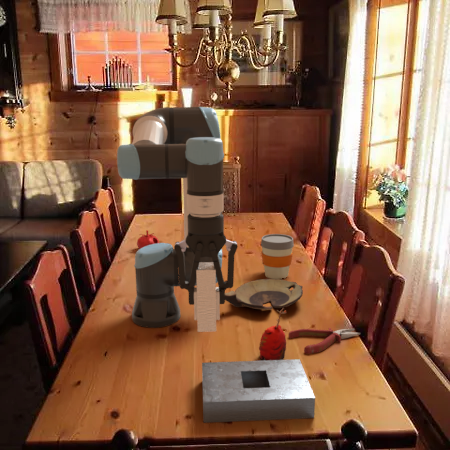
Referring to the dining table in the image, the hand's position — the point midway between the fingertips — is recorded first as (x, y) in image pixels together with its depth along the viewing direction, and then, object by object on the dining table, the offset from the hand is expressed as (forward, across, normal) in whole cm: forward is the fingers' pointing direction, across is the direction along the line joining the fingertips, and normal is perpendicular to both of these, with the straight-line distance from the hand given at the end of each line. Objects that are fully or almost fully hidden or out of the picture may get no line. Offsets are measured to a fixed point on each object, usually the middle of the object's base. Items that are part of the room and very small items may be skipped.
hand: (207, 317), depth 108 cm
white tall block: (+2, 0, 0) cm, 2 cm away
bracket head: (+21, +11, +1) cm, 24 cm away
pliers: (+22, +33, +27) cm, 48 cm away
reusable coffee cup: (+21, +26, +81) cm, 88 cm away
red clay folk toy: (+21, +17, +19) cm, 33 cm away
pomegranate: (+21, -28, +116) cm, 121 cm away
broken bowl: (+21, +17, +54) cm, 60 cm away
